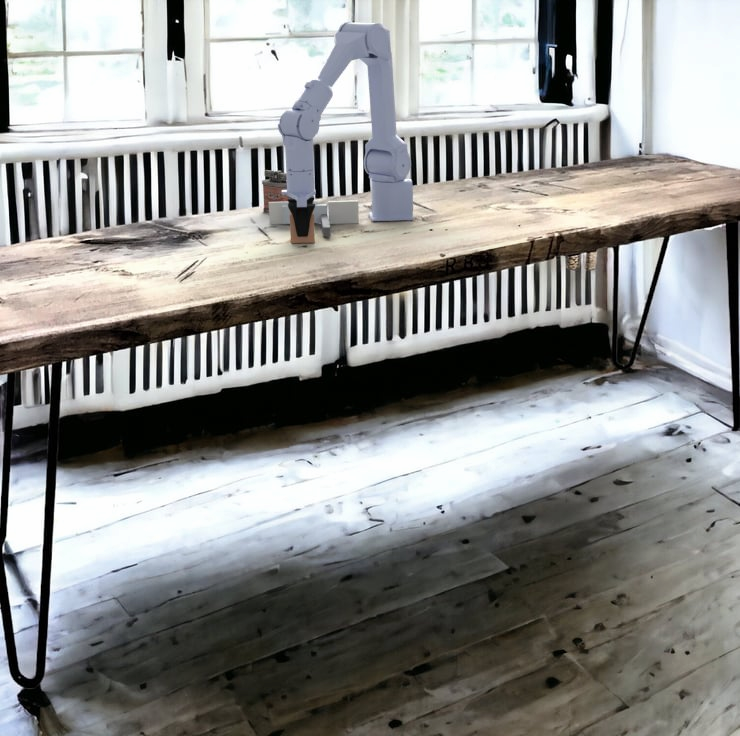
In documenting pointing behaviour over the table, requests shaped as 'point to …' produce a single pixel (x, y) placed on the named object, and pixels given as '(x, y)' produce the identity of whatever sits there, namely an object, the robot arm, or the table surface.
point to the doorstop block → (302, 239)
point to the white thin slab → (337, 212)
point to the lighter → (274, 188)
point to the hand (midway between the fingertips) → (302, 233)
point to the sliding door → (319, 217)
